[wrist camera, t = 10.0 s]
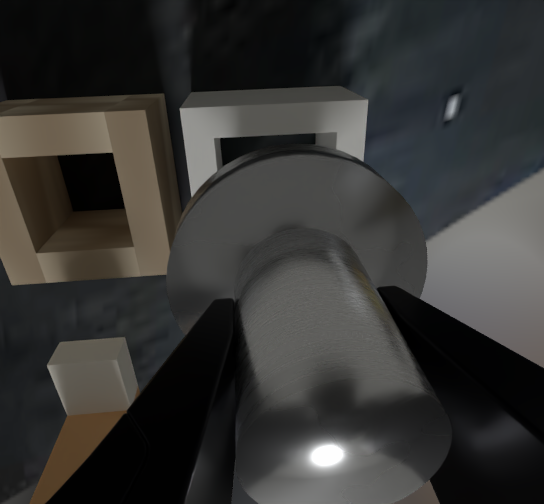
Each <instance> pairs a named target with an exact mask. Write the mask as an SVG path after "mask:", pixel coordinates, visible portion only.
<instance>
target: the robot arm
mask: <svg viewBox="0 0 544 504" xmlns="http://www.w3.org/2000/svg"><path fill="white" fill-rule="evenodd" d="M377 291H378V293H379V294H380V296H381V298H382V300H383V301H384V303H385V305H386V307H387V309H388V310H389V312H390V314H391V316H392V317H393V319H394V321H395V323H396V325H397V326H398V328H399V330H400V332H401V333H402V335H403V337H404V339H405V340H406V342H407V344H408V346H409V348H410V349H411V351H412V353H413V355H414V356H415V358H416V360H417V362H418V363H419V365H420V367H421V369H422V371H423V372H424V374H425V376H426V378H427V379H428V381H429V383H430V385H431V386H432V388H433V390H434V392H435V394H436V395H437V397H438V399H439V401H440V402H441V404H442V406H443V408H444V410H445V411H446V413H447V415H448V418H449V420H450V423H451V428H452V440H451V446H450V449H449V452H448V454H447V457H446V458H445V460H444V462H443V464H442V465H441V467H440V468H439V469H438V470H437V472H436V473H435V474H434V475H433V476H432V477H431V478H430V479H429V480H430V482H431V484H432V486H433V489H434V491H435V493H436V496H437V498H438V500H439V503H440V504H544V368H543V367H541V366H539V365H537V364H535V363H534V362H532V361H530V360H528V359H526V358H525V357H523V356H521V355H519V354H517V353H516V352H514V351H512V350H510V349H508V348H507V347H505V346H503V345H501V344H500V343H498V342H496V341H494V340H492V339H491V338H489V337H487V336H485V335H483V334H482V333H480V332H478V331H476V330H475V329H473V328H471V327H469V326H467V325H466V324H464V323H462V322H460V321H458V320H457V319H455V318H453V317H451V316H449V315H448V314H446V313H444V312H442V311H441V310H439V309H437V308H435V307H433V306H432V305H430V304H428V303H426V302H424V301H423V300H421V299H419V298H417V297H415V296H414V295H412V294H410V293H408V292H406V291H405V290H403V289H401V288H399V287H397V286H381V287H378V288H377ZM235 459H236V443H235V302H234V299H233V298H222V299H215V300H213V301H212V303H211V304H210V305H209V306H208V308H207V309H206V310H205V311H204V313H203V314H202V315H201V317H200V318H199V319H198V320H197V322H196V323H195V324H194V325H193V327H192V328H191V329H190V330H189V332H188V333H187V334H186V336H185V337H184V338H183V339H182V341H181V342H180V343H179V344H178V346H177V347H176V348H175V350H174V351H173V352H172V353H171V355H170V356H169V357H168V358H167V360H166V361H165V362H164V363H163V365H162V366H161V367H160V369H159V370H158V371H157V372H156V374H155V375H154V376H153V377H152V379H151V380H150V381H149V383H148V384H147V385H146V386H145V388H144V389H143V390H142V391H141V393H140V394H139V395H138V396H137V398H136V399H135V400H134V402H133V403H132V404H131V405H130V407H129V408H128V409H127V413H124V414H123V415H122V416H121V418H120V419H119V420H118V422H117V423H116V424H115V425H114V427H113V428H112V429H111V430H110V432H109V433H108V434H107V435H106V436H105V438H104V439H103V440H102V441H101V442H100V444H99V445H98V446H97V447H96V448H95V450H94V451H93V452H92V453H91V454H90V456H89V457H88V458H87V459H86V460H85V461H84V462H83V463H82V464H81V466H80V467H79V468H78V469H77V470H76V471H75V472H74V473H73V474H72V475H71V477H70V478H69V479H68V480H67V481H66V482H65V483H64V484H63V485H62V486H61V487H60V489H59V490H58V491H57V492H56V493H55V494H54V495H53V496H52V497H51V498H50V499H49V500H48V501H47V502H46V503H45V504H232V493H233V480H234V470H235Z"/></svg>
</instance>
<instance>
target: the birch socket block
mask: <svg viewBox="0 0 544 504" xmlns="http://www.w3.org/2000/svg"><path fill="white" fill-rule="evenodd" d="M112 152H113V155H114V160H115V164H116V169H117V173H118V178H119V182H120V187H121V191H122V196H123V200H124V205H125V209H110V210H93V211H76V212H73V208H72V205H71V202H70V198H69V195H68V191H67V188H66V184H65V181H64V178H63V174H62V171H61V167H60V164H59V161H58V157H57V155H73V154H93V153H112ZM181 216H182V209H181V203H180V196H179V190H178V183H177V176H176V170H175V163H174V156H173V150H172V143H171V137H170V130H169V123H168V117H167V110H166V103H165V97H164V94H141V95H118V96H95V97H72V98H49V99H26V100H6V101H3V102H0V257H1V260H2V262H3V265H4V267H5V270H6V272H7V274H8V277H9V279H10V282H11V284H12V285H22V284H36V283H50V282H65V281H79V280H93V279H108V278H122V277H136V276H151V275H165V274H167V265H168V260H169V255H170V251H171V247H172V244H173V240H174V237H175V233H176V230H177V226H178V224H179V221H180V219H181Z"/></svg>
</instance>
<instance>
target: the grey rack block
mask: <svg viewBox="0 0 544 504" xmlns="http://www.w3.org/2000/svg"><path fill="white" fill-rule="evenodd" d="M367 109H368V99H366V98H364V97H362V96H360V95H358V94H356V93H354V92H352V91H350V90H348V89H346V88H344V87H342V86H324V87H301V88H278V89H255V90H232V91H209V92H191V93H190V95H189V96H188V97H187V99H186V100H185V102H184V103H183V104H182V106H181V107H180V115H181V122H182V129H183V137H184V144H185V152H186V159H187V166H188V174H189V181H190V188H191V196H192V197H193V195H194V194H195V193H196V191H197V190H198V189H199V187H200V186H201V185H202V184H203V183H204V182H205V181H206V180H207V179H208V178H209V177H210V176H212V175H213V174H214V173H215V172H217V171H218V170H219V169H221V168H222V167H223V166H222V155H221V144H220V138H228V137H248V136H268V135H288V134H307V133H316V137H315V145H320V146H327V147H330V148H333V149H337V150H340V151H343V152H345V153H348V154H350V155H352V156H354V157H356V158H358V159H360V160H361V161H363V158H364V146H365V133H366V121H367Z"/></svg>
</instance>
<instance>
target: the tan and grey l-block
mask: <svg viewBox="0 0 544 504" xmlns="http://www.w3.org/2000/svg"><path fill="white" fill-rule="evenodd" d="M47 367H48V369H49V372H50V374H51V377H52V379H53V382H54V384H55V386H56V389H57V391H58V394H59V396H60V399H61V401H62V404H63V406H64V408H65V411H66V413H67V418H66V420H65V423H64V425H63V427H62V429H61V432H60V434H59V436H58V439H57V441H56V443H55V446H54V448H53V450H52V453H51V455H50V457H49V459H48V462H47V464H46V466H45V469H44V471H43V473H42V476H41V478H40V480H39V483H38V485H37V487H36V489H35V492H34V494H33V496H32V499H31V501H30V504H45V503H46V502H47V501H48V500H49V499H50V498H51V497H52V496H53V495H54V494H55V493H56V492H57V491H58V490H59V489H60V487H61V486H62V485H63V484H64V483H65V482H66V481H67V480H68V479H69V478H70V477H71V475H72V474H73V473H74V472H75V471H76V470H77V469H78V468H79V467H80V466H81V464H82V463H83V462H84V461H85V460H86V459H87V458H88V457H89V456H90V454H91V453H92V452H93V451H94V450H95V448H96V447H97V446H98V445H99V444H100V442H101V441H102V440H103V439H104V438H105V436H106V435H107V434H108V433H109V432H110V430H111V429H112V428H113V427H114V425H115V424H116V423H117V422H118V420H119V419H120V418H121V416H122V415H123V414H124V413H127V409H128V408H129V407H130V405H131V404H132V403H133V402H134V400H135V399H136V398H137V396H138V395H139V394H140V392H139V388H138V384H137V381H136V377H135V373H134V370H133V366H132V362H131V358H130V355H129V351H128V347H127V344H126V340H125V337H120V338H107V339H94V340H82V341H69V342H60V343H59V345H58V346H57V348H56V350H55V352H54V354H53V355H52V357H51V359H50V361H49V363H48V364H47Z"/></svg>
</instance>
